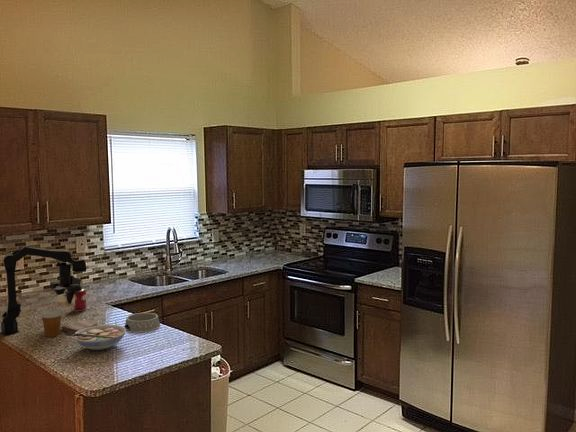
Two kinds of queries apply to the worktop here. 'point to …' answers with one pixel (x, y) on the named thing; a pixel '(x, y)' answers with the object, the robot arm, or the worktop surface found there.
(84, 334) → the ramen bowl
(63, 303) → the maple cube
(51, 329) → the disposable coffee cup
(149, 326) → the dog bowl
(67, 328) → the walnut board
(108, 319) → the worktop surface
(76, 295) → the soda can
